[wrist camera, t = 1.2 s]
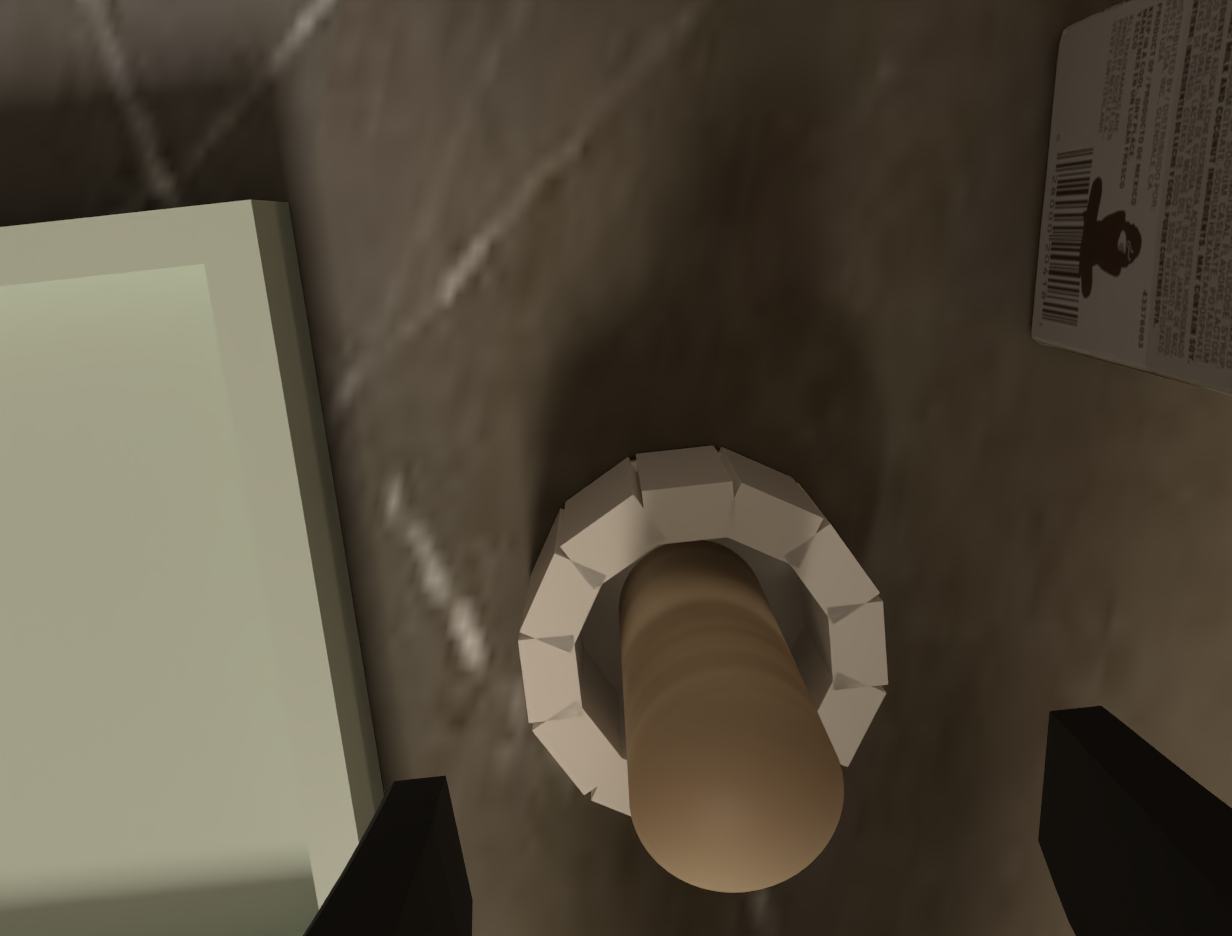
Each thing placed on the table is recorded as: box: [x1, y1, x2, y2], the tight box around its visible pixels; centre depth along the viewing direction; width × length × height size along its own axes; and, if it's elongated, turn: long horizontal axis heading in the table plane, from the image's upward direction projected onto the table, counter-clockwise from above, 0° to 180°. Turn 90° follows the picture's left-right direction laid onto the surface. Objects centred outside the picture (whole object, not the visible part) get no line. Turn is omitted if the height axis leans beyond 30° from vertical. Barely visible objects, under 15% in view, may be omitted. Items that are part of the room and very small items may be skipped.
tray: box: [0, 200, 384, 936], centre depth 23 cm, size 16×12×2 cm
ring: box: [518, 445, 888, 816], centre depth 23 cm, size 7×7×3 cm
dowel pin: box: [619, 540, 844, 893], centre depth 20 cm, size 3×3×8 cm
